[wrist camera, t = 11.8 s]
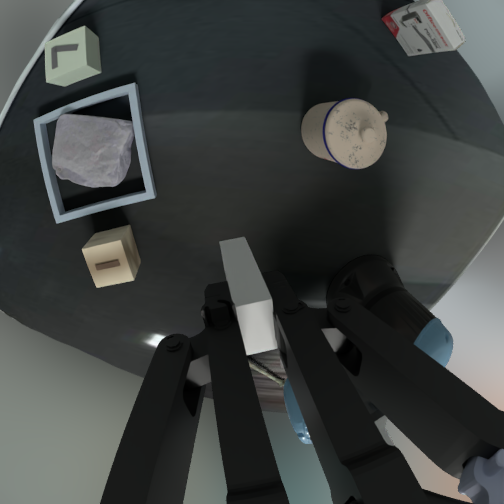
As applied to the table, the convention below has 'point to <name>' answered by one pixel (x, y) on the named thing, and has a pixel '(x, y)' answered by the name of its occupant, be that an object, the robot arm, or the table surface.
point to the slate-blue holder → (141, 147)
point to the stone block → (92, 149)
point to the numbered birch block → (112, 256)
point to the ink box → (424, 27)
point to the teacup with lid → (345, 132)
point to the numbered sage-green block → (72, 57)
